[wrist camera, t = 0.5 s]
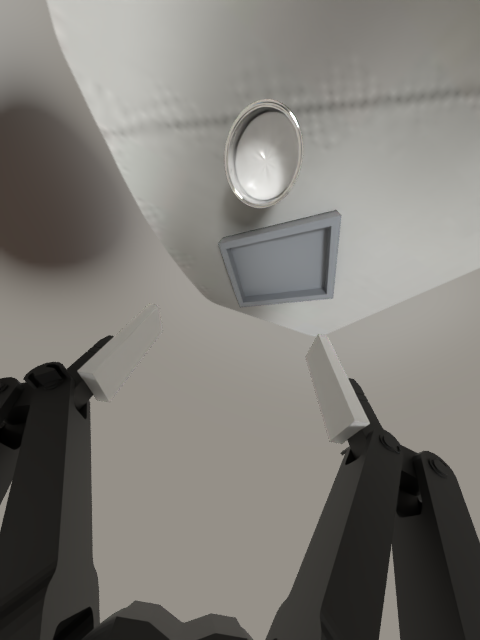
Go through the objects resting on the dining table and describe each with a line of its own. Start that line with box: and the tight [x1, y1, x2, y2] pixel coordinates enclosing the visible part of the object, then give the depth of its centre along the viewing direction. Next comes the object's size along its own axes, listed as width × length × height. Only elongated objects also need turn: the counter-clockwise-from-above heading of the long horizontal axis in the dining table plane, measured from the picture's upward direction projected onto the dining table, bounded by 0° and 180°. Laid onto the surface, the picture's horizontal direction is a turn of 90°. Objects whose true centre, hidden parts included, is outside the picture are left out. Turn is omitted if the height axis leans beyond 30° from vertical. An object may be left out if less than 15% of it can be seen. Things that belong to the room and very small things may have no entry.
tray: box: [218, 210, 341, 307], centre depth 34 cm, size 20×15×4 cm
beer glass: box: [224, 99, 303, 208], centre depth 19 cm, size 7×7×15 cm
